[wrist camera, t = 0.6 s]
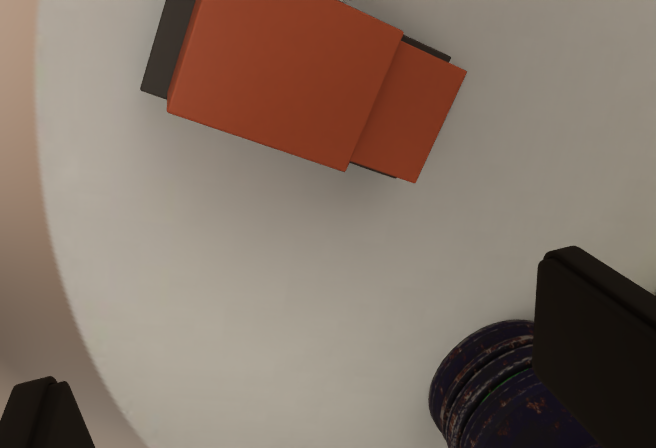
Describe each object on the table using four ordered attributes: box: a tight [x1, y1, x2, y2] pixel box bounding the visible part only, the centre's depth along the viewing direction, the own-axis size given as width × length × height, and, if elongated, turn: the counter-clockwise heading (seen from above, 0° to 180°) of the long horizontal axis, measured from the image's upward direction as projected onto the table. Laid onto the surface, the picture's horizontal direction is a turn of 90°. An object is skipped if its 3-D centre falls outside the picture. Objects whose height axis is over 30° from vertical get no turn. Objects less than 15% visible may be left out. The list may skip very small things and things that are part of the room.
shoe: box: [140, 0, 467, 183], centre depth 22 cm, size 12×6×5 cm, turn 67°
